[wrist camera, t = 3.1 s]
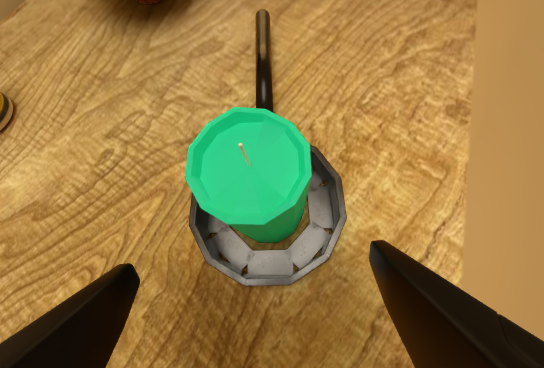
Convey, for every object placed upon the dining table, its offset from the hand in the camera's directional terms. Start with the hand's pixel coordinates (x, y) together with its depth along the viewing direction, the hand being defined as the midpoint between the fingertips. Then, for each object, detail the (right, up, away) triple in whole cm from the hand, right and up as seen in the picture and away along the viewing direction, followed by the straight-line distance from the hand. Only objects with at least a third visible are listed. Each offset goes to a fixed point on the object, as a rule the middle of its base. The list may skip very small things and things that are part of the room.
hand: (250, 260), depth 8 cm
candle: (+1, +1, +12) cm, 12 cm away
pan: (0, +8, +14) cm, 17 cm away
